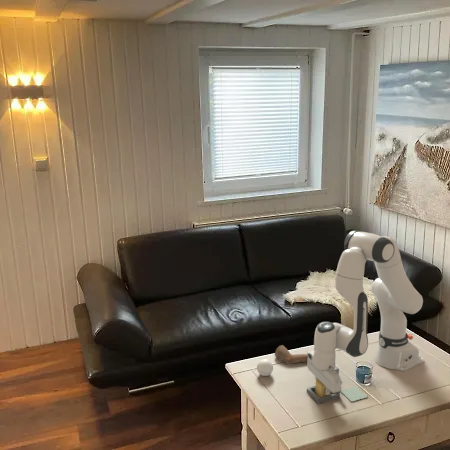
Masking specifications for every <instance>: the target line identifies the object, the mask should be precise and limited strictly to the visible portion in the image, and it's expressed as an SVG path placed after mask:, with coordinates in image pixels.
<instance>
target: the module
mask: <svg viewBox="0 0 450 450" xmlns="http://www.w3.org/2000/svg"><path fill="white" fill-rule="evenodd" d="M314 386H315V391H314V393H315V394H316V395H317V396H318V397H319V398H321V397H324V396H328V395H326V394H325V393H324V390H325V389H326V386H325V385H324V384H323V383H322V382H321V381H320V380H316V379H315V385H314ZM329 395H331V391H330V394H329Z"/></svg>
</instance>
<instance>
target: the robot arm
mask: <svg viewBox="0 0 450 450" xmlns="http://www.w3.org/2000/svg"><path fill="white" fill-rule="evenodd" d="M343 244H344V247H343V249H344V250H343V251H342V253H341V255H340V257H339V260H338V263H337V268H336V271H335V275H334V288H335V289H336V291H337V293H338V294H339V295H340V297H342V298H343V299H344V300H345V301H346V302H348V304H349V305H350V306H351V308H352V311H353V329H352V328H350V327H349V326H348V327H347V326H346V325H344V324H341V323H339V322H330V321H322V322H319V323H318V324H317V326H316V328H315V331H314V338H313V346H314V347H315V350H314V349H312V350H310V351H307V353H306V354H307V356H308V358H307V362H306V363H307V364H306V365H307V369H308V371H310V373H312V375H313V376H314V378H315V381H316V380H320V381H321V382H322V383H323V384H324V385H325V386H326V389H325V390H324V393H325V394H326V395H329V394H330V395H331V394H332V393H336V392H339V391H341V390H342V387H341V385H342V384H341V376H340V373H339V374H338V373H337V371H336V370H334V369H333V368H334V367H335V366H336V349H338V350H339V351H343V352H344V353H346V354H347V355H349V356H351V357H353V358H358V357H361V356H362V355H364V354H365V353H366V352H367V350H368V347H369V339H368V316H369V315H368V313H369V300H368V296H367V294H366V293H365V290H364V289H365V288H364V284H363V283H364V275H365V269H366V268H365V267H366V266H365V265H366V262H368V261H371V262H374V265H375V269H376V273H377V277H376V279H375V280H373V282H372V285H371V289H370V290H371V293H372V295H373V296H374V298H375V300H376V303H377V305H378V307H379V312H380V330H379V334H378V345H377V349H376V352H375V355H374V361H375V362H376V364H378V365H379V366H381V367H383V368H387V369H390V370H398V371H400V372H406V371H407V370H410V369H411V368H414V367H416V366H418V365H420V364H422V363H424V362H425V360H424V357H423V356H422V355H421V354H420V351H419V350H420V349H419V347H417V345H416V344H415V343H413V342H412V341H411V340H413V338H414V337H413V335H412V334H408V333H407V325H408V323H407V322H408V320H407V317H406V315H405V314H404V313H406V314H410V315H414V314H416V313H418V312H419V311H420V310H421V309H422V308H423V303H424V299H423V296H422V295H421V294H420V292H418V290H417V289H416V288H415V287H414V285H413V283H412V282H411V281H410V278H409V277H408V276H407V274H406V271H405V269H404V266H403V262H402V257H401V253H400V249H399V248H398V245H397V242H395V239H393V237H390V236H388V235H383V236H382V235H378V234H375V233H372V232H367V231H366V232H365V231H363V230H352V231H350V232H349V233H347V235H346V237H345V239H344V243H343ZM330 391H331V392H332V393H331V392H330Z"/></svg>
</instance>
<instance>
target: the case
mask: <svg viewBox="0 0 450 450" xmlns="http://www.w3.org/2000/svg"><path fill="white" fill-rule="evenodd" d="M315 386H316V385H313V386H309V387H307V388H306V392H307V393H308V395H311V396H310V397H311V398H312V399H313V400H314V401H315V402H316V403H317V404H322V403H326V402H329V401H333V400H337V399H339V398H341V392H340V391H341V390H340V391H339V392H336V393H332V392H330V395H328V396H324V397H321V398H320V397H319V396H318V395H317V394H316V393H315Z"/></svg>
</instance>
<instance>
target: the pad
mask: <svg viewBox="0 0 450 450" xmlns="http://www.w3.org/2000/svg"><path fill="white" fill-rule="evenodd" d="M340 394H342V395H343V396H344V397H345V396H346V397H347V398H346V397H345V398H346V399H347V400H349V402H350V403H354V402H357V400H358V401H360V399H361V400H364V398H365V399H368V398H367V397H368V396H367V395H366V394H365V393H364V391H362V390H361V389H360V388H359V387H358V386H352V387H350V388H345V389H341V390H340Z"/></svg>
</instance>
